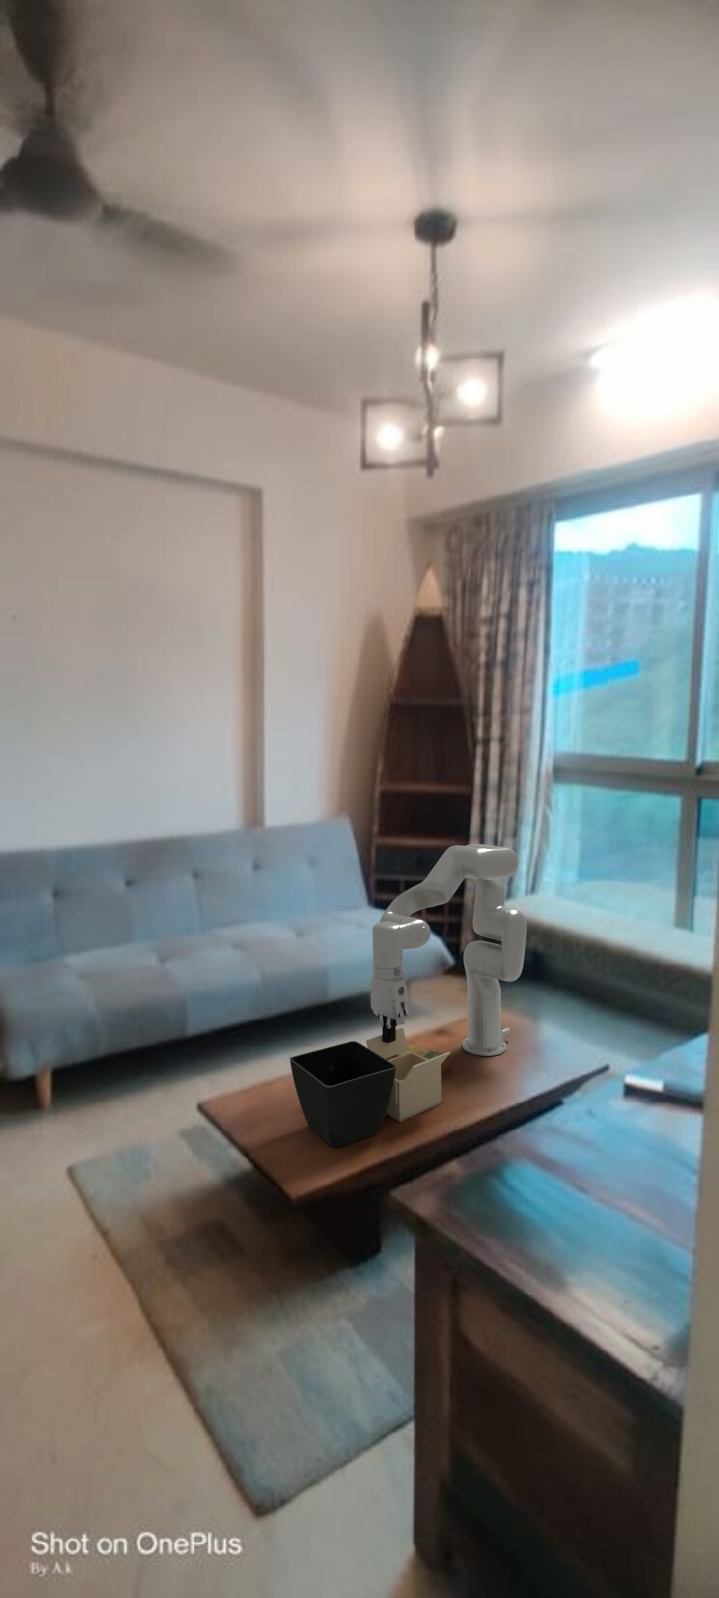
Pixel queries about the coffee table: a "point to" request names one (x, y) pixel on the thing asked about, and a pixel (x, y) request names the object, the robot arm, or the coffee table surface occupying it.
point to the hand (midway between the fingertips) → (389, 1041)
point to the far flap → (388, 1045)
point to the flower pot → (343, 1091)
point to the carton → (424, 1055)
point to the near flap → (426, 1066)
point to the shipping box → (413, 1088)
